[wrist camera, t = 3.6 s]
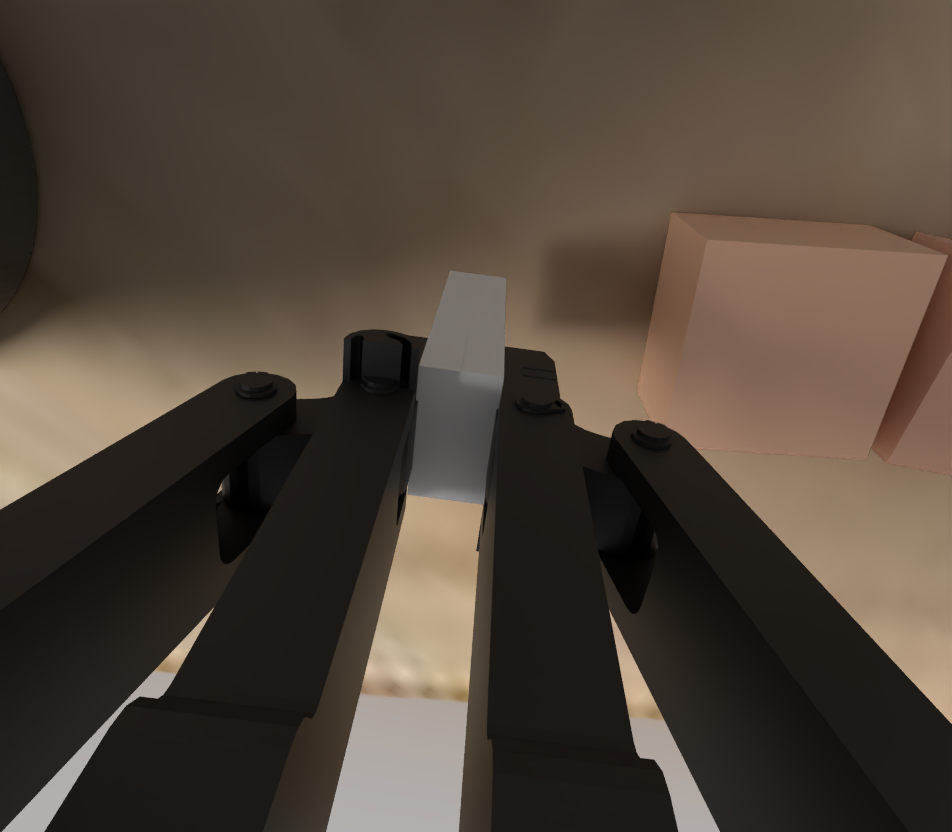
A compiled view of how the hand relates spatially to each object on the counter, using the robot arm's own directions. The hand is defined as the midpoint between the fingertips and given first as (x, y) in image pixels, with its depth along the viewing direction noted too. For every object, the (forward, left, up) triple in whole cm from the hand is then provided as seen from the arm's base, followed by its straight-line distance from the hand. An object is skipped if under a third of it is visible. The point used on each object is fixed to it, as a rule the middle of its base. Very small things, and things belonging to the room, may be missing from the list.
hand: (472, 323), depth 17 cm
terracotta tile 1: (+9, 0, -4) cm, 10 cm away
